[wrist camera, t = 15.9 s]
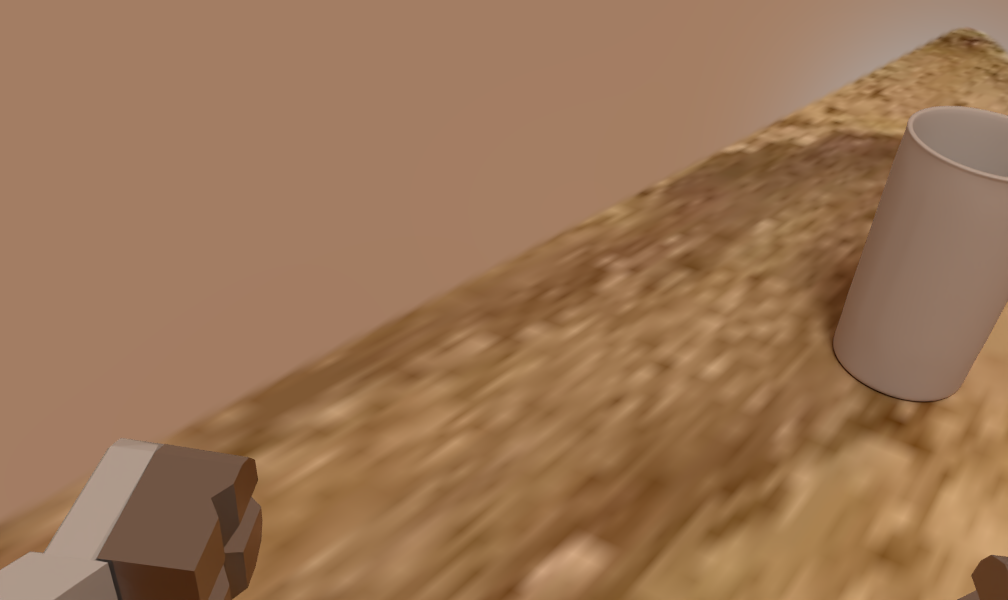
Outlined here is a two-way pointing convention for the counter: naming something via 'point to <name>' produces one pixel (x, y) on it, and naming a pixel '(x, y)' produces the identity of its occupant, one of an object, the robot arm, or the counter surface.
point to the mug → (932, 258)
